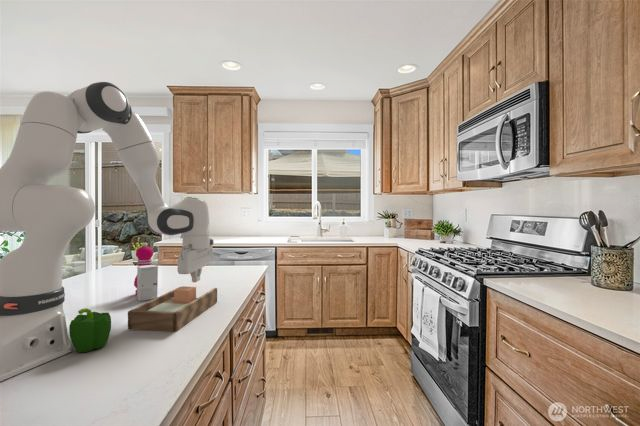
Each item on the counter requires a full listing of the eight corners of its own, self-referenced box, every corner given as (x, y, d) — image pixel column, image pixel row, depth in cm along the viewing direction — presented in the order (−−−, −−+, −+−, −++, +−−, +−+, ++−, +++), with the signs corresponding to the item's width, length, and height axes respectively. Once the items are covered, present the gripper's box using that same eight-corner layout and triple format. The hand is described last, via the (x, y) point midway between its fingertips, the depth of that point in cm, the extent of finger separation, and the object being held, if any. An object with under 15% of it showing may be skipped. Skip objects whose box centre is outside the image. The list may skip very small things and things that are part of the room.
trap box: (176, 331, 89) (176, 313, 89) (127, 329, 90) (127, 311, 90) (217, 301, 117) (217, 288, 117) (179, 300, 118) (179, 286, 118)
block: (188, 302, 105) (188, 290, 105) (174, 302, 106) (174, 290, 106) (196, 298, 110) (196, 286, 110) (181, 298, 111) (181, 286, 111)
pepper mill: (159, 291, 130) (159, 241, 129) (147, 296, 123) (147, 243, 122) (141, 291, 131) (141, 241, 130) (129, 296, 123) (129, 243, 123)
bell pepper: (104, 338, 84) (104, 299, 84) (116, 347, 79) (116, 306, 79) (64, 349, 78) (63, 307, 78) (74, 359, 72) (73, 314, 72)
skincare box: (140, 301, 116) (139, 267, 116) (136, 299, 120) (136, 266, 119) (158, 298, 121) (158, 265, 120) (154, 295, 124) (154, 264, 124)
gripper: (190, 247, 105) (191, 289, 106) (215, 239, 126) (215, 275, 126) (172, 246, 106) (172, 288, 106) (199, 239, 126) (199, 274, 127)
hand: (196, 281), depth 117 cm, fingers closed
